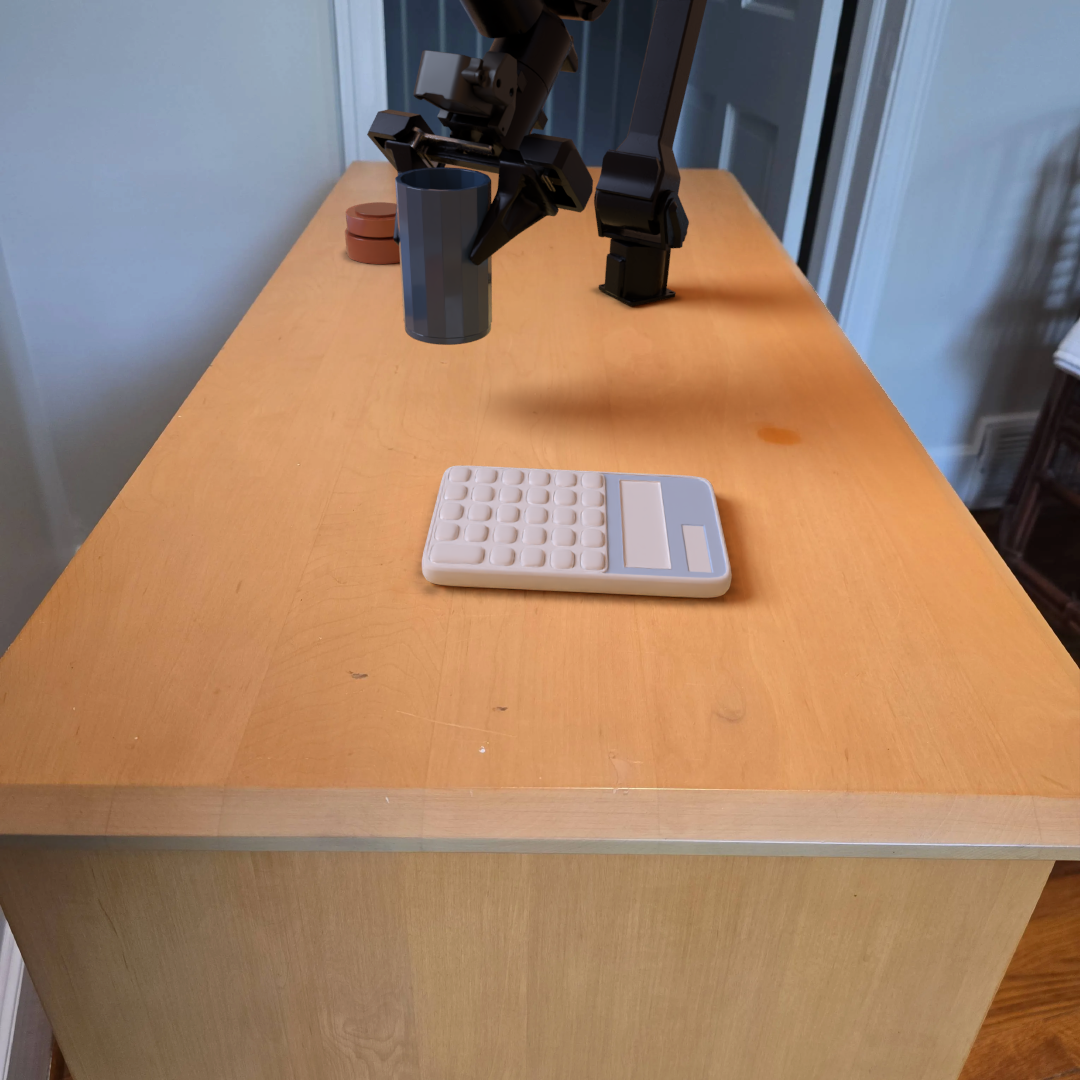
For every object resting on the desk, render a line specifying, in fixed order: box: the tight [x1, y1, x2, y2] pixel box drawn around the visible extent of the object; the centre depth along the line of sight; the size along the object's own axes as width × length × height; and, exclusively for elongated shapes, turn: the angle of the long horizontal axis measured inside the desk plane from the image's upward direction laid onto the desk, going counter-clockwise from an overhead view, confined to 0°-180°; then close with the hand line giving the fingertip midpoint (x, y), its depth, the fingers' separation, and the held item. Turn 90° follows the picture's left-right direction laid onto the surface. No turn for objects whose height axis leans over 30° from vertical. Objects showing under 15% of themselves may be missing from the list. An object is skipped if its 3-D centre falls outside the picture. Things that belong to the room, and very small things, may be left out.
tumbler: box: [394, 166, 493, 346], centre depth 75 cm, size 7×7×12 cm
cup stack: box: [344, 201, 400, 265], centre depth 114 cm, size 9×9×5 cm
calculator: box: [421, 464, 732, 599], centre depth 64 cm, size 13×20×2 cm, turn 88°
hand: (434, 252), depth 73 cm, fingers closed on tumbler, 7 cm apart
